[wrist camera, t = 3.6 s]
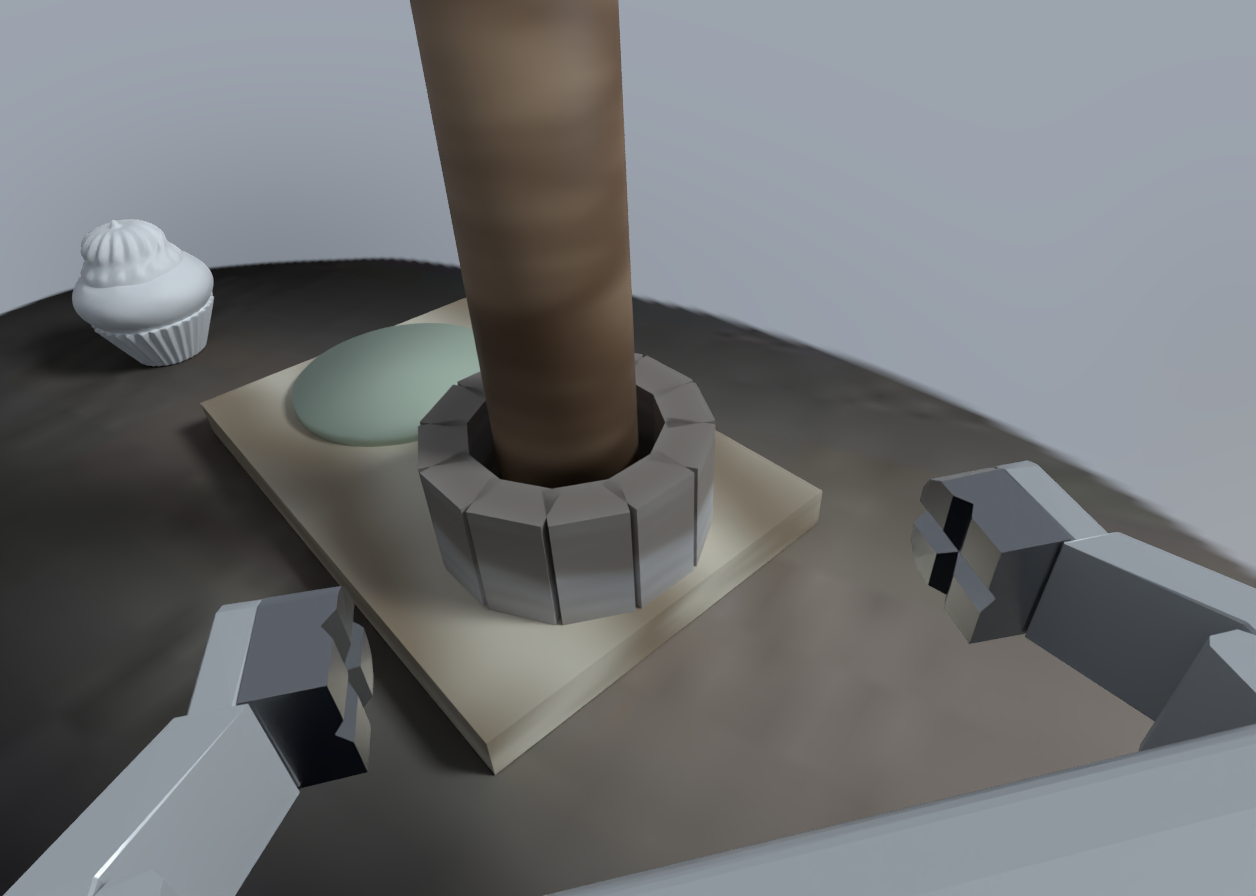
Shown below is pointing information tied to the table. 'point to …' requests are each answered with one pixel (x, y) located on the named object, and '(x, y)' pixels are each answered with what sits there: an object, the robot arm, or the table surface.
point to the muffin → (144, 293)
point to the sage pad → (383, 383)
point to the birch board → (435, 611)
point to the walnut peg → (540, 224)
